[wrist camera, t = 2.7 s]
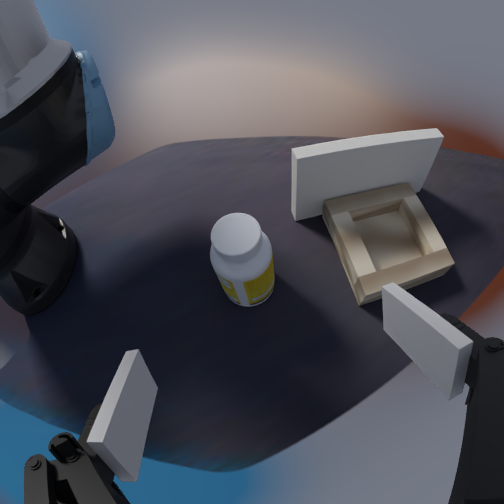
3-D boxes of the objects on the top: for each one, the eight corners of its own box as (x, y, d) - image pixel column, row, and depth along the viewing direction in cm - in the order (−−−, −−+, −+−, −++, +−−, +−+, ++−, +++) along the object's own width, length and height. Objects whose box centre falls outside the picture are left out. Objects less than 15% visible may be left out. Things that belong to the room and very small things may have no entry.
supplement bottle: (277, 263, 33) (274, 207, 24) (271, 310, 30) (265, 268, 22) (229, 258, 34) (210, 203, 25) (219, 304, 31) (194, 261, 23)
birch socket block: (443, 275, 30) (454, 263, 27) (358, 306, 30) (365, 295, 27) (402, 197, 36) (408, 182, 33) (322, 216, 35) (324, 200, 33)
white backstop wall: (419, 191, 36) (444, 136, 27) (295, 221, 35) (297, 159, 27) (414, 183, 37) (436, 128, 28) (291, 211, 36) (291, 148, 27)
